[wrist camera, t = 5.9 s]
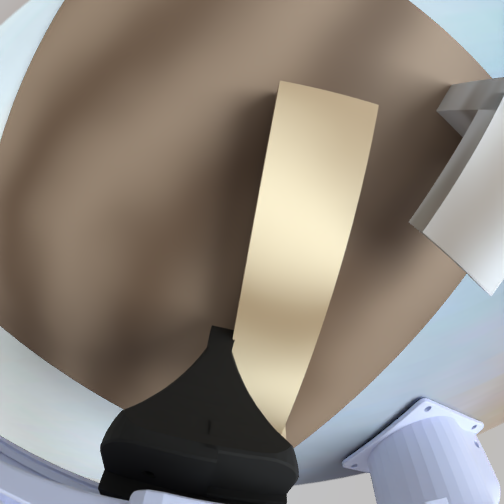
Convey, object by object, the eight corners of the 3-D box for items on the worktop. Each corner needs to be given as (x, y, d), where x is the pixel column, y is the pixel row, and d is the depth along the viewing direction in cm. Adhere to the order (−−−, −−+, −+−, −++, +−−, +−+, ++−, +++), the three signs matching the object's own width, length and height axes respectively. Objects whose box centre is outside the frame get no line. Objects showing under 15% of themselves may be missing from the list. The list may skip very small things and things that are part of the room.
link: (275, 447, 17) (275, 510, 13) (202, 437, 17) (190, 500, 13) (377, 114, 10) (436, 108, 6) (257, 86, 10) (252, 58, 6)
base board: (529, 142, 11) (598, 158, 6) (265, 456, 19) (264, 517, 14) (158, -95, 8) (125, -148, 3) (-17, 296, 16) (-63, 334, 11)
